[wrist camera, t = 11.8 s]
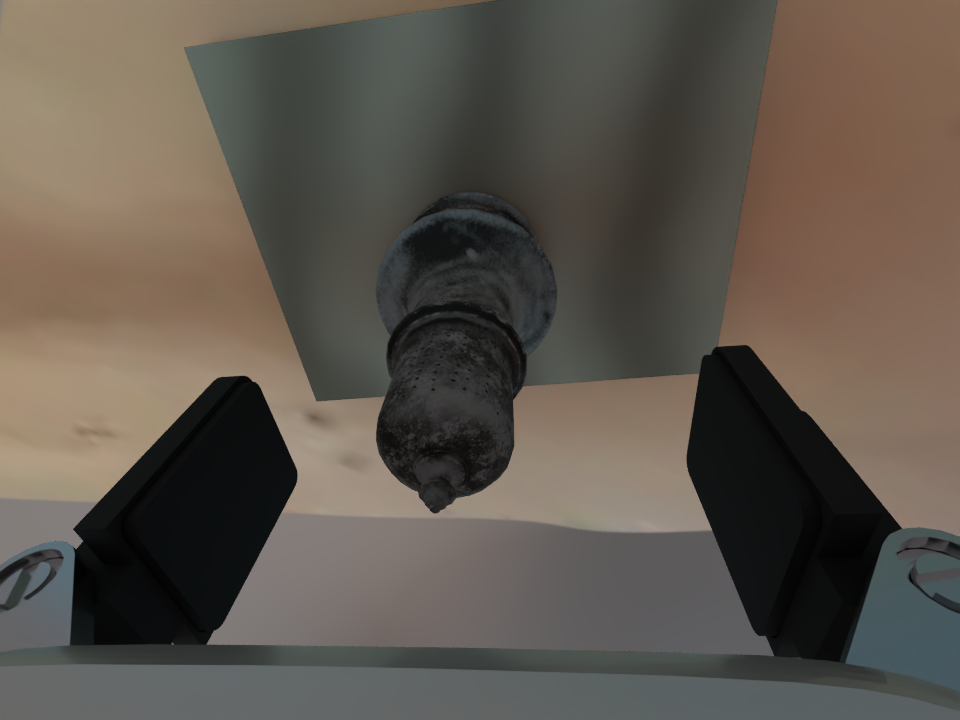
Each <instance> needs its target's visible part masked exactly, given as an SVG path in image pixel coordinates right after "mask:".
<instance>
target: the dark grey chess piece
mask: <svg viewBox="0 0 960 720" xmlns="http://www.w3.org/2000/svg"><path fill="white" fill-rule="evenodd" d="M376 298H377V304H378V310H379V314H380V316H381V319H382V321H383V323H384V325H385V327H386V329H387V331H388V333H389V335H390V336H391V337H390V339H389V341H388V344H387V352H386V363H387V369H388V374H389V376H390V378H391V382H390V385H389V388H388V391H387V394H386V397H385V399H384V402H383V405H382V408H381V411H380V414H379V417H378V423H377V431H376V442H377V446H378V451H379V454H380V456H381V458H382V460H383V461H384V463H385V465H386V466H387V468H388V469H389V470H390V472H391V473H392V474H393V475H394V476H395V477H396V478H397V479H398V480H399V481H400V482H401V483H403V484H404V485H406V486H408V487H409V488H411V489H412V490H415V491H417V492H418V493H419V498H420V499H421V500H422V501H423V502H424V503H425V505H426V506H427V507H428V508H429V509H430V511H431V512H432V513H438V512H439V511H440V510H442V509H445V508H446V506H447V505H449V504H452V503H453V501H454V500H455V499H456V498H459V497H464V496H470V495H472V494H475V493H477V492H480V491H482V490H483V489H485V488H486V487H488V486H489V485H490V484H492V483H493V482H494V481H496V480H497V479H498V478H499V477H500V476H501V475H502V474H503V472H504V471H505V470H506V468H507V467H508V464H509V461H510V458H511V455H512V452H513V448H514V418H513V400H514V398H515V397H516V396H517V394H518V393H519V391H520V390H521V389H522V387H523V383H524V380H525V377H526V374H527V356H528V355H529V354H530V353H532V352H533V351H534V350H535V349H536V348H537V347H538V346H539V344H540V343H541V341H542V340H543V339H544V337H545V336H546V334H547V333H548V331H549V330H550V327H551V324H552V321H553V318H554V315H555V312H556V305H557V285H556V281H555V277H554V272H553V268H552V265H551V263H550V261H549V259H548V258H547V256H546V254H545V253H544V251H543V249H542V247H541V246H540V244H539V243H538V241H537V237H536V234H535V232H534V230H533V229H532V227H531V225H530V223H529V222H528V220H527V218H526V217H525V216H524V215H523V214H522V213H521V212H520V211H519V210H518V209H516V208H515V207H514V206H513V205H512V204H510V203H508V202H506V201H504V200H503V199H501V198H499V197H497V196H494V195H490V194H485V193H481V192H458V193H455V194H452V195H449V196H446V197H443V198H440V199H439V200H437V201H436V202H434V203H432V204H431V205H429V206H428V207H426V208H425V209H424V210H423V212H422V213H421V214H420V215H419V216H418V217H417V219H416V220H415V221H414V222H413V224H412V225H410V226H409V227H407V228H406V229H404V230H403V231H402V232H401V233H400V234H399V236H398V237H397V238H396V239H395V240H394V241H393V243H392V244H391V245H390V246H389V247H388V249H387V251H386V253H385V255H384V258H383V260H382V262H381V265H380V267H379V269H378V274H377V283H376Z"/></svg>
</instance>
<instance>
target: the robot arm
mask: <svg viewBox="0 0 960 720" xmlns="http://www.w3.org/2000/svg"><path fill="white" fill-rule="evenodd" d="M687 468H688V472H689V475H690V477H691V480H692V482H693V484H694V487H695V489H696V492H697V494H698V497H699V499H700V502H701V504H702V506H703V509H704V511H705V514H706V516H707V519H708V521H709V523H710V526H711V528H712V531H713V533H714V535H715V538H716V541H717V543H718V545H719V548H720V550H721V553H722V555H723V557H724V560H725V562H726V565H727V567H728V570H729V572H730V575H731V577H732V580H733V581H734V584H735V587H736V589H737V592H738V594H739V597H740V599H741V601H742V604H743V606H744V609H745V611H746V614H747V616H748V618H749V621H750V623H751V626H752V628H753V630H754V631H755V633H756V634H757V635H759V636H766V637H767V640H768V642H769V644H770V647H771V649H772V651H773V654H774V656H764V655H763V656H762V655H735V654H707V653H681V652H654V651H653V652H652V651H606V650H605V651H604V650H552V649H501V648H439V647H437V648H436V647H370V646H369V647H367V646H366V647H365V646H291V645H290V646H287V645H206V644H207V642H208V640H209V639H210V637H211V635H212V633H213V631H214V630H216V629H218V628H219V627H220V626H221V625H222V624H223V622H224V621H225V619H226V617H227V615H228V613H229V611H230V609H231V607H232V605H233V603H234V601H235V599H236V598H237V596H238V594H239V592H240V590H241V588H242V586H243V585H244V583H245V581H246V579H247V577H248V575H249V573H250V571H251V569H252V567H253V566H254V564H255V562H256V560H257V558H258V556H259V554H260V552H261V550H262V548H263V547H264V545H265V543H266V541H267V539H268V537H269V535H270V533H271V531H272V529H273V528H274V526H275V524H276V522H277V520H278V518H279V516H280V514H281V512H282V510H283V508H284V507H285V505H286V503H287V501H288V499H289V497H290V495H291V493H292V491H293V489H294V488H295V485H296V483H297V469H296V467H295V464H294V462H293V460H292V458H291V456H290V453H289V451H288V449H287V447H286V444H285V442H284V440H283V438H282V435H281V433H280V431H279V429H278V426H277V424H276V422H275V420H274V418H273V415H272V413H271V411H270V409H269V406H268V404H267V402H266V400H265V397H264V395H263V393H262V391H261V389H260V387H259V385H258V384H257V383H256V382H252V380H251V379H250V378H249V377H247V376H233V377H220V378H217V379H216V380H214V381H213V382H212V383H211V385H210V386H209V387H208V388H207V389H206V390H205V391H204V392H203V393H202V394H201V395H200V396H199V397H198V398H197V399H196V400H195V401H194V402H193V403H192V404H191V406H190V407H189V408H188V409H187V410H186V411H185V412H184V413H183V414H182V415H181V416H180V417H179V418H178V419H177V420H176V421H175V422H174V423H173V424H172V426H171V427H170V428H169V429H168V430H167V431H166V432H165V433H164V434H163V435H162V436H161V437H160V438H159V439H158V440H157V441H156V442H155V443H154V444H153V445H152V447H151V448H150V449H149V450H148V451H147V452H146V453H145V454H144V455H143V456H142V457H141V458H140V459H139V460H138V461H137V462H136V463H135V464H134V465H133V467H132V468H131V469H130V470H129V471H128V472H127V473H126V474H125V475H124V476H123V477H122V478H121V479H120V480H119V481H118V482H117V483H116V484H115V485H114V487H113V488H112V489H111V490H110V491H109V492H108V493H107V494H106V495H105V496H104V497H103V498H102V499H101V500H100V501H99V502H98V503H97V504H96V506H95V507H94V508H93V509H92V510H91V511H90V512H89V513H88V514H87V515H86V516H85V517H84V518H83V519H82V520H81V521H80V522H79V523H78V525H76V527H75V528H74V529H73V530H74V531H75V532H76V533H77V534H78V535H79V536H80V537H81V539H82V540H83V542H82V543H81V545H80V546H79V547H78V548H77V549H75V548H74V547H73V546H72V545H70V544H68V543H67V542H61V541H54V542H49V543H44V544H40V545H38V546H35V547H32V548H30V549H27V550H25V551H23V552H21V553H20V554H18V555H16V556H14V557H12V558H10V559H9V560H7V561H6V562H4V563H3V564H1V565H0V720H960V537H959V536H956V535H953V534H950V533H947V532H944V531H940V530H934V529H927V528H920V527H917V528H905V529H902V528H901V527H900V525H899V524H898V523H897V522H896V521H895V519H894V518H893V517H892V516H891V514H890V513H889V512H888V511H887V510H886V508H885V507H884V506H883V505H882V503H881V502H880V501H879V500H878V499H877V497H876V496H875V495H874V494H873V492H872V491H871V490H870V489H869V488H868V486H867V485H866V484H865V483H864V481H863V480H862V479H861V478H860V476H859V475H858V474H857V473H856V472H855V470H854V469H853V468H852V467H851V465H850V464H849V463H848V462H847V461H846V459H845V458H844V457H843V456H842V454H841V453H840V452H839V451H838V450H837V448H836V447H835V446H834V445H833V443H832V442H831V441H830V440H829V439H828V437H827V436H826V435H825V434H824V432H823V431H822V430H821V429H820V427H819V426H818V425H817V424H816V423H815V421H814V420H813V419H812V418H811V417H810V416H809V415H808V414H807V413H806V412H804V411H801V410H800V409H799V407H798V406H797V405H796V404H795V402H794V401H793V400H792V399H791V398H790V396H789V395H788V394H787V393H786V391H785V390H784V389H783V388H782V386H781V385H780V384H779V383H778V381H777V380H776V379H775V378H774V376H773V375H772V374H771V373H770V371H769V370H768V369H767V368H766V366H765V365H764V364H763V363H762V361H761V360H760V359H759V358H758V356H757V355H756V354H755V353H754V351H753V350H752V349H751V348H750V347H749V346H747V345H740V346H724V347H715V348H714V349H713V351H712V353H711V355H704V356H703V358H702V361H701V367H700V374H699V380H698V386H697V393H696V399H695V406H694V412H693V418H692V425H691V431H690V438H689V444H688V450H687ZM172 642H173V644H174V645H171V643H172Z"/></svg>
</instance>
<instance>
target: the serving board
mask: <svg viewBox="0 0 960 720" xmlns="http://www.w3.org/2000/svg"><path fill="white" fill-rule="evenodd" d="M776 6H777V0H496V1H489V2H483V3H476V4H469V5H463V6H456V7H449V8H443V9H436V10H430V11H423V12H416V13H410V14H403V15H396V16H390V17H383V18H377V19H370V20H363V21H357V22H350V23H343V24H337V25H330V26H324V27H317V28H310V29H304V30H297V31H290V32H284V33H277V34H271V35H264V36H257V37H251V38H244V39H237V40H231V41H224V42H218V43H211V44H204V45H198V46H191V47H184V49H185V52H186V55H187V57H188V60H189V63H190V65H191V68H192V71H193V73H194V76H195V79H196V81H197V84H198V87H199V89H200V92H201V95H202V97H203V100H204V103H205V105H206V108H207V111H208V113H209V116H210V119H211V121H212V124H213V127H214V129H215V132H216V135H217V137H218V140H219V143H220V145H221V148H222V151H223V153H224V156H225V159H226V161H227V164H228V167H229V169H230V172H231V175H232V177H233V180H234V183H235V185H236V188H237V191H238V193H239V196H240V199H241V201H242V204H243V207H244V209H245V212H246V215H247V217H248V220H249V223H250V225H251V228H252V231H253V233H254V236H255V239H256V241H257V244H258V247H259V249H260V252H261V255H262V257H263V260H264V263H265V265H266V268H267V271H268V273H269V276H270V279H271V281H272V284H273V287H274V289H275V292H276V295H277V297H278V300H279V303H280V305H281V308H282V311H283V313H284V316H285V319H286V321H287V324H288V327H289V329H290V332H291V335H292V337H293V340H294V343H295V345H296V348H297V351H298V353H299V356H300V359H301V361H302V364H303V367H304V369H305V372H306V375H307V377H308V380H309V383H310V385H311V388H312V391H313V393H314V396H315V399H316V401H328V400H341V399H355V398H369V397H382V396H386V394H387V391H388V388H389V385H390V382H391V378H390V376H389V374H388V369H387V363H386V352H387V344H388V341H389V339H390V337H391V336H390V335H389V333H388V331H387V329H386V327H385V325H384V323H383V321H382V319H381V316H380V314H379V310H378V304H377V298H376V283H377V274H378V269H379V267H380V265H381V262H382V260H383V258H384V255H385V253H386V251H387V249H388V247H389V246H390V245H391V244H392V243H393V241H394V240H395V239H396V238H397V237H398V236H399V234H400V233H401V232H402V231H403V230H404V229H406V228H407V227H409V226H410V225H412V224H413V222H414V221H415V220H416V219H417V217H418V216H419V215H420V214H421V213H422V212H423V210H424V209H425V208H426V207H428V206H429V205H431V204H432V203H434V202H436V201H437V200H439V199H440V198H443V197H446V196H449V195H452V194H455V193H458V192H481V193H485V194H490V195H494V196H497V197H499V198H501V199H503V200H504V201H506V202H508V203H510V204H512V205H513V206H514V207H515V208H516V209H518V210H519V211H520V212H521V213H522V214H523V215H524V216H525V217H526V218H527V220H528V222H529V223H530V225H531V227H532V229H533V230H534V232H535V234H536V237H537V241H538V243H539V244H540V246H541V247H542V249H543V251H544V253H545V254H546V256H547V258H548V259H549V261H550V263H551V265H552V268H553V272H554V277H555V281H556V285H557V305H556V312H555V315H554V318H553V321H552V324H551V327H550V330H549V331H548V333H547V334H546V336H545V337H544V339H543V340H542V341H541V343H540V344H539V346H538V347H537V348H536V349H535V350H534V351H533V352H532V353H530V354H529V355H528V356H527V374H526V377H525V380H524V383H523V386H532V385H546V384H560V383H573V382H587V381H601V380H614V379H628V378H642V377H655V376H669V375H683V374H696V373H700V367H701V361H702V358H703V356H704V355H711V353H712V351H713V349H714V348H715V347H717V346H718V341H719V335H720V329H721V323H722V318H723V312H724V306H725V300H726V295H727V289H728V283H729V277H730V271H731V266H732V260H733V254H734V248H735V243H736V237H737V231H738V225H739V220H740V214H741V208H742V202H743V196H744V191H745V185H746V179H747V173H748V168H749V162H750V156H751V150H752V145H753V139H754V133H755V127H756V121H757V116H758V110H759V104H760V98H761V93H762V87H763V81H764V75H765V70H766V64H767V58H768V52H769V46H770V41H771V35H772V29H773V23H774V18H775V12H776Z"/></svg>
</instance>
